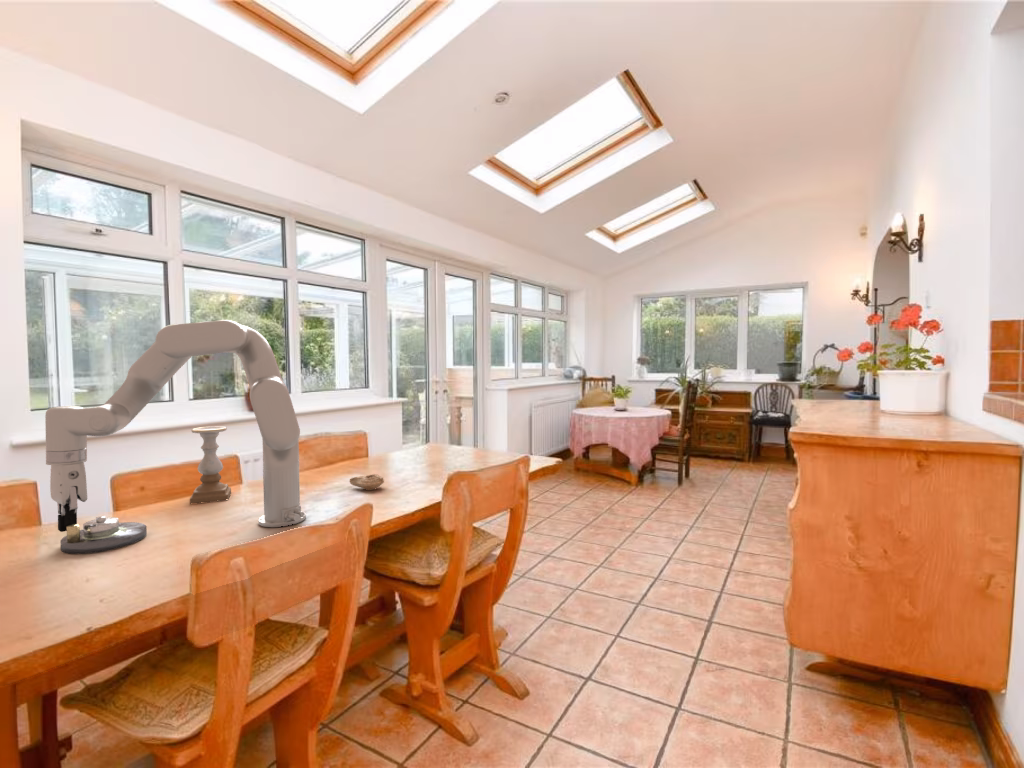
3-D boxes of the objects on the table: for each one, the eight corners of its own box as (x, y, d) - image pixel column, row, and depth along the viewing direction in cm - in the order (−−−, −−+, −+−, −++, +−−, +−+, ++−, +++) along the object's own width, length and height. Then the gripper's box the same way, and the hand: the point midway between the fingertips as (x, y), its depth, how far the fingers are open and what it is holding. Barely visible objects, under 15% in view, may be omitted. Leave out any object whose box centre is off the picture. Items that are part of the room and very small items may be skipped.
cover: (126, 529, 129) (125, 513, 129) (100, 538, 122) (100, 522, 122) (102, 528, 130) (101, 512, 130) (75, 537, 123) (75, 521, 123)
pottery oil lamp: (354, 484, 184) (363, 466, 186) (380, 497, 181) (389, 479, 182) (343, 481, 176) (352, 463, 177) (370, 495, 173) (379, 476, 174)
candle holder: (194, 495, 169) (192, 427, 168) (231, 492, 174) (229, 425, 173) (189, 504, 159) (187, 431, 158) (228, 500, 164) (226, 429, 163)
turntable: (162, 530, 134) (161, 509, 134) (103, 555, 117) (102, 530, 117) (107, 528, 136) (106, 506, 136) (41, 551, 119) (40, 527, 119)
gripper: (96, 458, 120) (97, 532, 121) (76, 450, 129) (76, 520, 129) (56, 462, 114) (56, 540, 115) (37, 454, 122) (38, 527, 123)
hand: (67, 529), depth 122 cm, fingers closed
